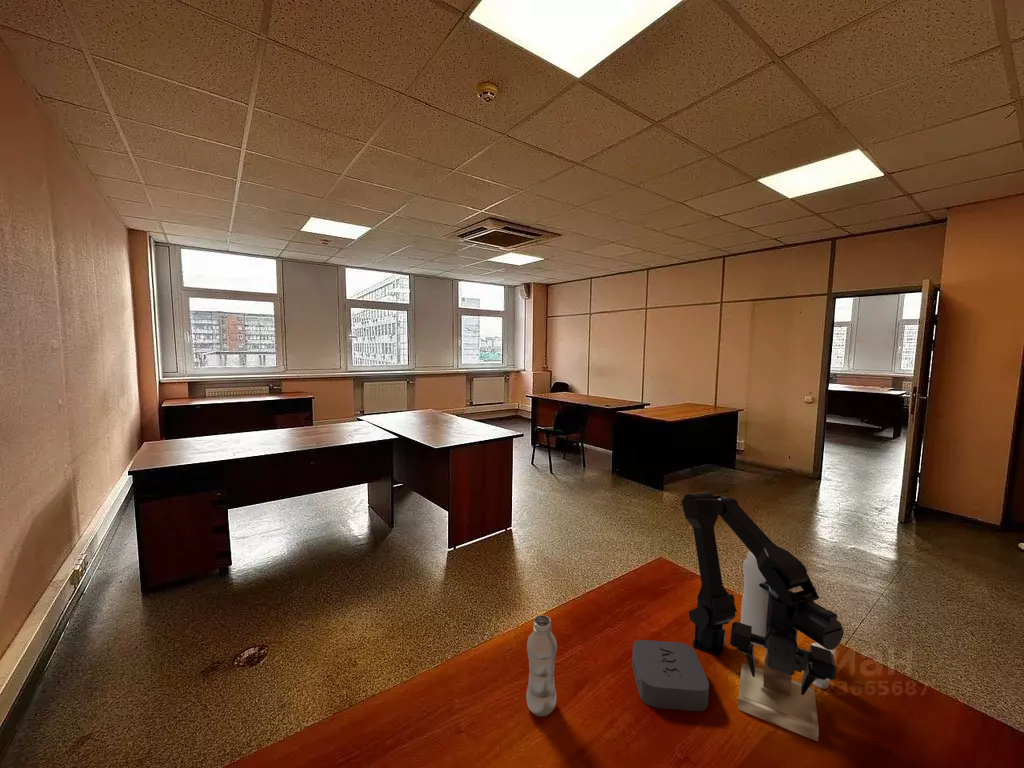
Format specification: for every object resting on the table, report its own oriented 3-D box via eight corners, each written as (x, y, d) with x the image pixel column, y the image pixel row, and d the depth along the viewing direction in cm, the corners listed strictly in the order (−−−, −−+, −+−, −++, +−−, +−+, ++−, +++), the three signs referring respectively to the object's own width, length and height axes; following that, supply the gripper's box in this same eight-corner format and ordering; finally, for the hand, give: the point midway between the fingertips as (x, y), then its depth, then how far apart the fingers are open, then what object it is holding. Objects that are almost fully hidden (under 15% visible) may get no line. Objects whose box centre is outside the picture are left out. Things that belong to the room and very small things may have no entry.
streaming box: (711, 714, 90) (713, 691, 89) (642, 708, 91) (643, 686, 91) (690, 662, 104) (691, 643, 104) (630, 658, 106) (630, 639, 105)
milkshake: (840, 693, 95) (843, 652, 94) (813, 689, 96) (816, 648, 95) (829, 677, 99) (832, 638, 98) (803, 674, 100) (807, 634, 99)
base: (737, 709, 91) (738, 697, 91) (741, 672, 101) (742, 661, 101) (817, 741, 84) (818, 729, 83) (813, 698, 94) (813, 687, 93)
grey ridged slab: (775, 647, 109) (781, 566, 107) (760, 648, 109) (766, 567, 107) (747, 620, 120) (751, 546, 118) (733, 621, 119) (738, 547, 117)
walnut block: (763, 686, 93) (765, 661, 93) (763, 671, 98) (765, 647, 97) (790, 696, 91) (792, 670, 90) (789, 680, 95) (791, 656, 95)
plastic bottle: (559, 699, 93) (560, 614, 91) (552, 725, 87) (553, 634, 85) (531, 691, 95) (532, 607, 93) (522, 716, 89) (522, 627, 87)
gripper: (730, 622, 88) (725, 691, 90) (842, 658, 79) (835, 734, 80) (734, 595, 98) (730, 658, 99) (835, 624, 88) (829, 693, 90)
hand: (777, 684), depth 92 cm, fingers open, 9 cm apart
